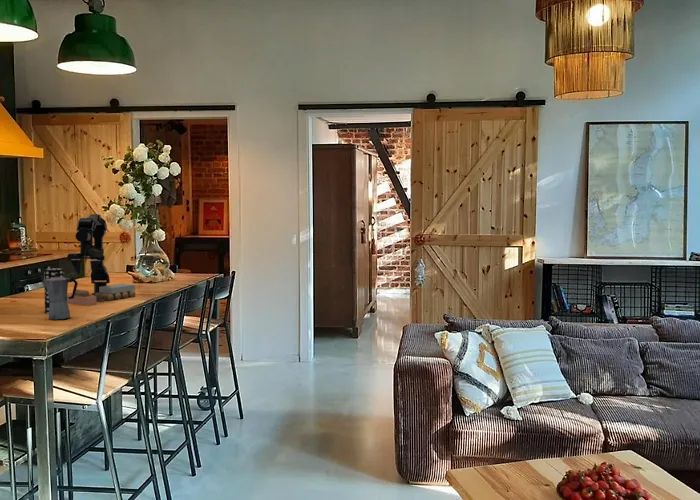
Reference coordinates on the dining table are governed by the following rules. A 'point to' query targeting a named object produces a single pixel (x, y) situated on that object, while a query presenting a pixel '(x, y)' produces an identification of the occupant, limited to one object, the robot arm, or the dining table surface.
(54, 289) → the moka pot
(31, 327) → the dining table surface
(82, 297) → the stop beam
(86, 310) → the dining table surface
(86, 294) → the roller
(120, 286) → the slab
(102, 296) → the roller bed
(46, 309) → the white-spotted black cylinder
